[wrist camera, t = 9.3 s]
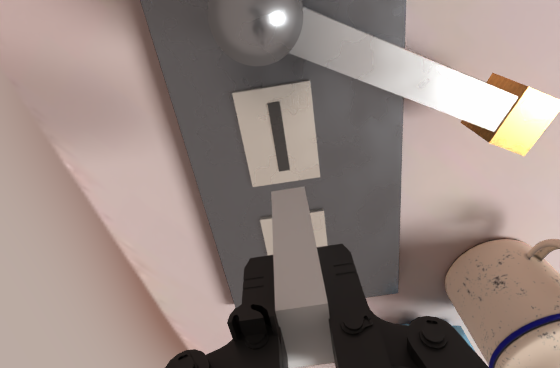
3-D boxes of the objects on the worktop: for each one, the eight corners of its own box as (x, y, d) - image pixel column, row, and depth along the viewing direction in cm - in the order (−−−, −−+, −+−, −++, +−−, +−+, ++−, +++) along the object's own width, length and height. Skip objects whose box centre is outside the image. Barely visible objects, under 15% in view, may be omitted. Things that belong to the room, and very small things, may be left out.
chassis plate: (136, -33, 20) (127, -34, 19) (400, -79, 19) (410, -84, 18) (238, 304, 34) (237, 318, 32) (393, 283, 33) (399, 296, 32)
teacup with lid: (506, 311, 36) (601, 439, 26) (425, 300, 35) (491, 431, 24) (579, 216, 30) (738, 334, 20) (484, 199, 29) (603, 316, 19)
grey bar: (214, 31, 20) (197, 47, 15) (234, -46, 19) (222, -58, 13) (473, 129, 24) (530, 169, 19) (510, 73, 22) (585, 100, 17)
